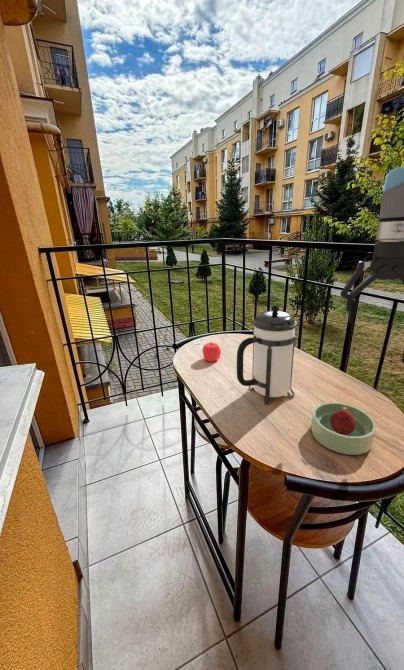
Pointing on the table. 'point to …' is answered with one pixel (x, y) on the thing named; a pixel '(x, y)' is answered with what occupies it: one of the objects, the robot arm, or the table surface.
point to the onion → (342, 422)
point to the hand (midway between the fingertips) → (378, 324)
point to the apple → (211, 352)
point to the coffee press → (270, 354)
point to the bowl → (339, 443)
